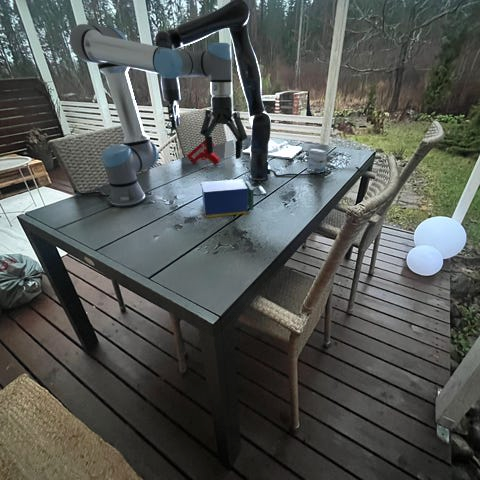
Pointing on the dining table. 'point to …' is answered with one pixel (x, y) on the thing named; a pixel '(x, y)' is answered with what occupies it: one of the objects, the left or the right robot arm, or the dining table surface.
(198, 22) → the right robot arm
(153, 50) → the left robot arm
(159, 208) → the dining table surface
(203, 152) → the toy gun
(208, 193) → the cabinet
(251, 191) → the drawer
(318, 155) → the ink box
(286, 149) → the relief map
